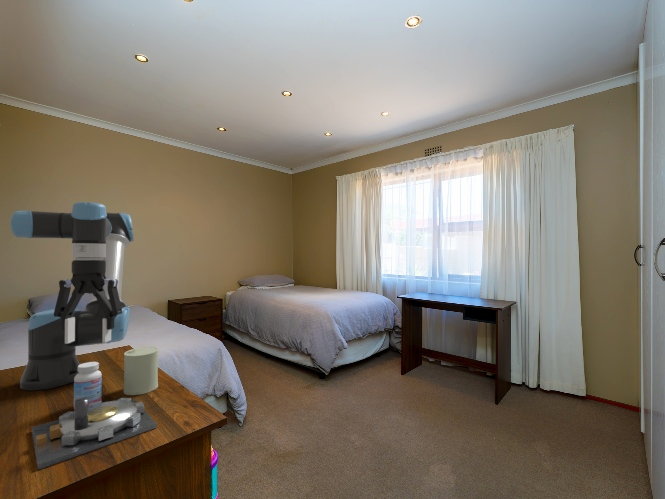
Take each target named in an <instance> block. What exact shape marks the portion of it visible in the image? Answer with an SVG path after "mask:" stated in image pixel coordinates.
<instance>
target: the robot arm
mask: <svg viewBox="0 0 665 499" xmlns="http://www.w3.org/2000/svg"><path fill="white" fill-rule="evenodd" d="M106 207H107V206H105V204H103V203H98V202H89V201H87V202H85V201H78V202H75V203H73V204H72V210H71V211H70V212H55V211H53V212H52V211H35V210H34V211H33V210H16V211H14V212H13V213H12V215H11V217H10V231H11V233H12V235H13V236H15V237H16V238H26V239H69V240H70V239H71V258H72V259H74V260H72V261H71V274H72V276H71V279H60V280H59V281H58V285H59V290H58V294H57V300H56V303H55V307H54V308H52V309H51V308H50V309H47V310H44V311H40V312H36V313H34V314H32V315H31V316H30V317H29V320H28V328H27V331H28V332H27V333H28V339H27V340H28V341H27V342H28V345H27V346H28V349H27V350H28V352H27V354H28V355H27V357H28V358H27V363H26V366H25V367H24V370H23V373H22V375H21V378H20V383H19V387H20V390H23V391H43V390H48V389H53V388H57V387H62V386H65V385H67V384H72V383H74V378H75V376H76V375H77V374H78V373H79V372H78V371H77V370H78V366H79V365H80V364H81V363H80V362H79V359H78V357H77V354H76V347H83V346H84V347H85V346H90V345H92V346H93V345H102V344H110V343H117V342H121V341H123V340H124V339H125V337H126V335H127V332H128V329H129V322H130V317H131V314H130V313H131V309H130V308H129V307H127V306H126V303H125V301H123V300H122V292H123V291H122V290H123V289H122V288H123V277H124V276H123V274H124V273H123V272H124V261H125V259H124V258H125V249H126V248H127V247H129V246H130V243H132V242H134V231H133V221H132V216H131V215H130V214H128V213H121V212H116V213H115V212H107V208H106ZM72 286H73V287H74V288H73V290H72V289H71V288H72ZM71 290H72V292H71ZM70 294H71V296H70ZM85 294H89V295H90V294H92V298H91V301H89V302H87V303H86V305H85V309H84V310H77V308H78V305H79V303H80V301H81V299H82V297H83V296H84V295H85Z"/></svg>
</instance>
